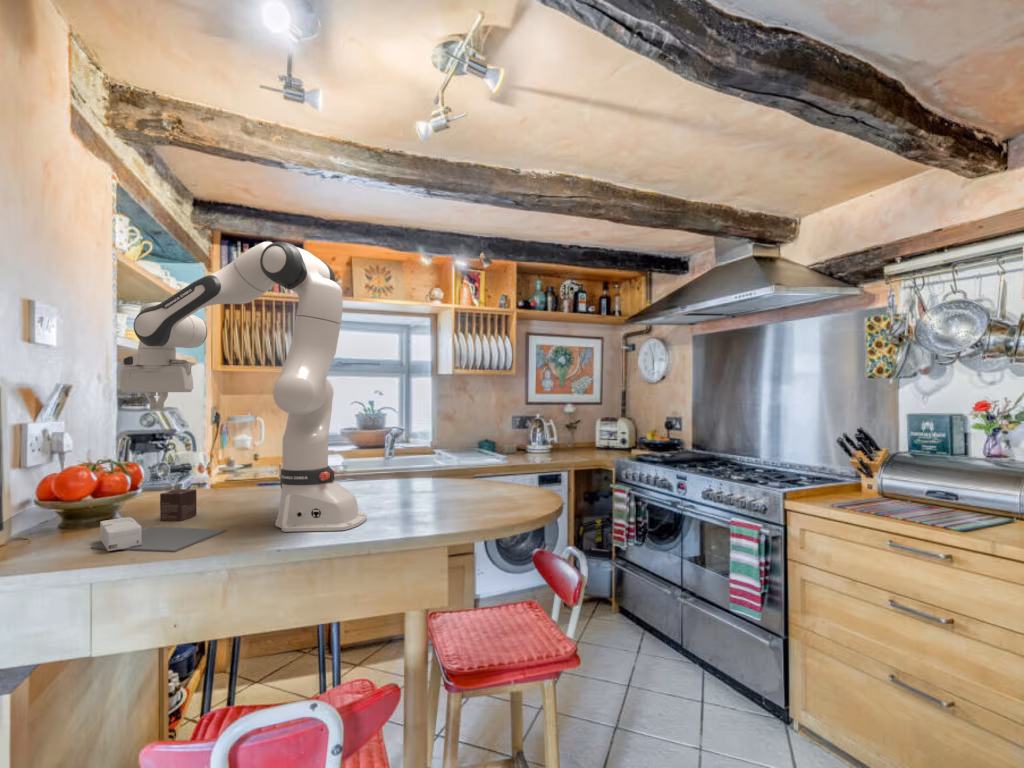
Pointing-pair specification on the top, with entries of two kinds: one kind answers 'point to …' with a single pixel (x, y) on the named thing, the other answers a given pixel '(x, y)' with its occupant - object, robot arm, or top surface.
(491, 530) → the top surface
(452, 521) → the top surface
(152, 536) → the mat
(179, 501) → the box
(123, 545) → the skincare box
